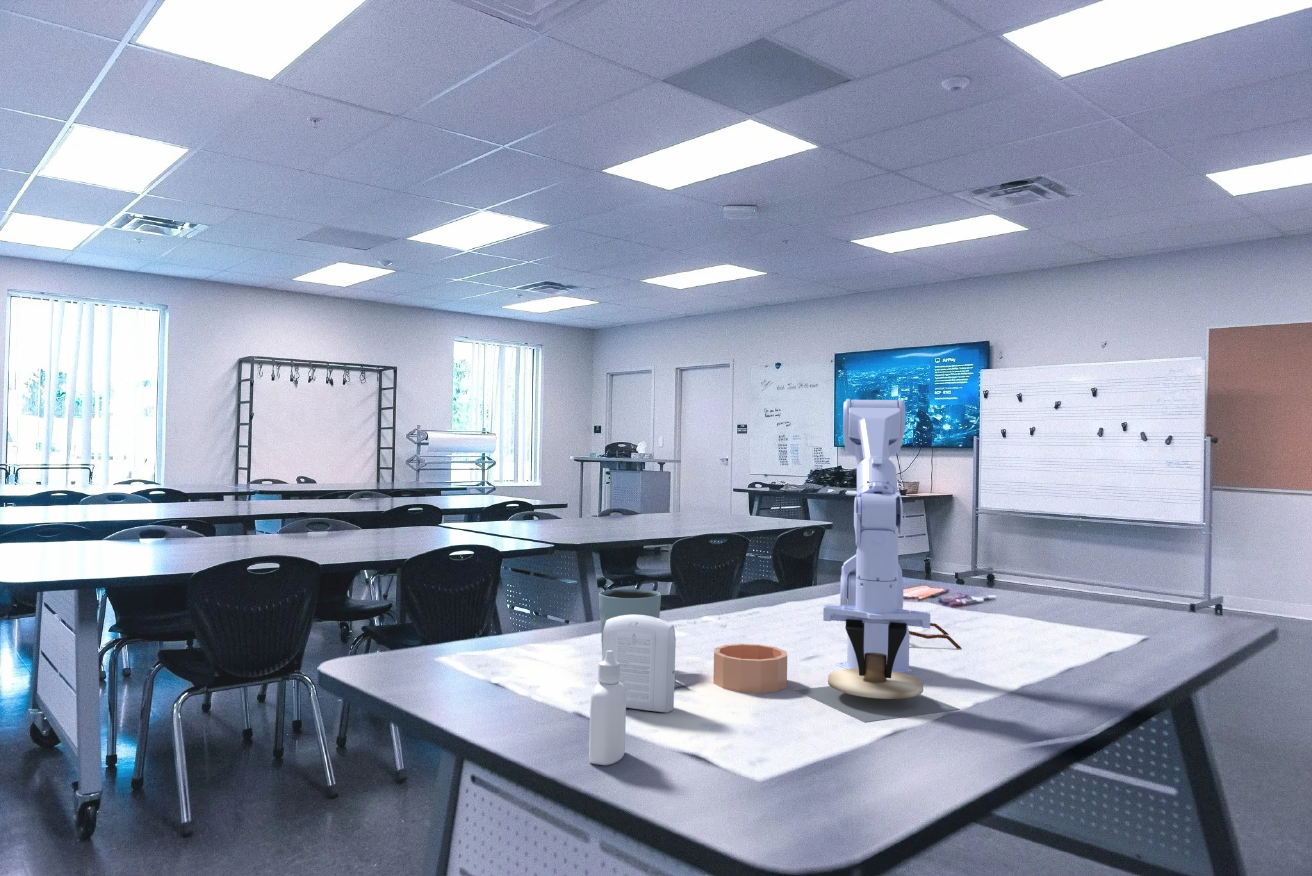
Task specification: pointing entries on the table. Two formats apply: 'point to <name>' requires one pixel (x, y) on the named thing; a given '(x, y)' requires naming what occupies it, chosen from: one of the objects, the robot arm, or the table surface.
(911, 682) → the lid
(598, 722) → the eye dropper bottle
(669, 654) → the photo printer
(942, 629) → the glasses
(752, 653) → the bowl
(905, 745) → the table surface
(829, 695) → the mat
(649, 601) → the green plant pot
